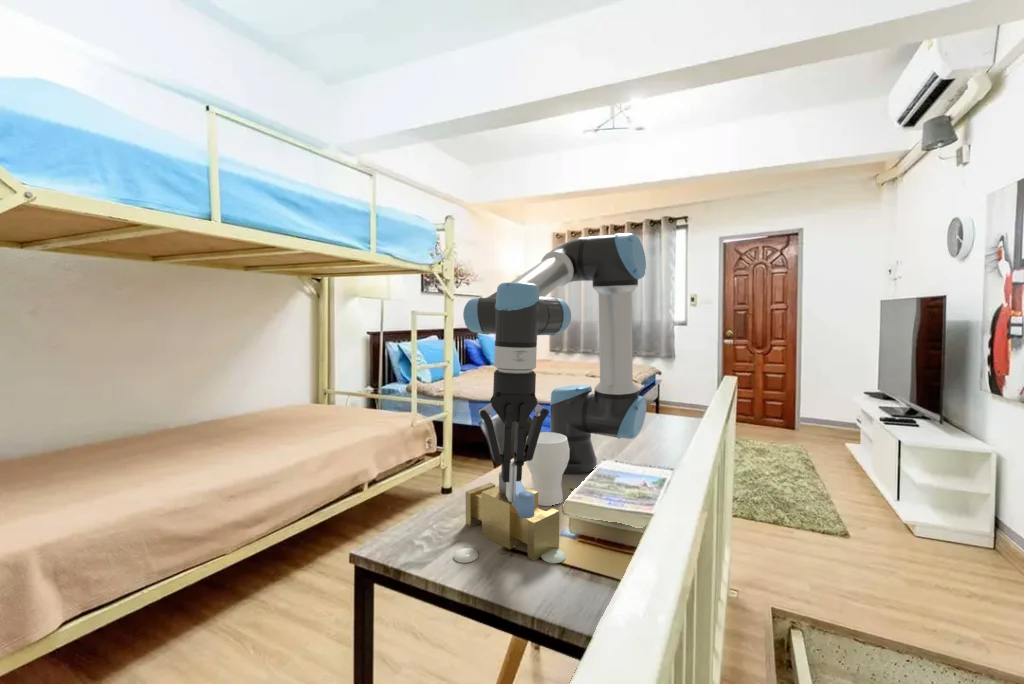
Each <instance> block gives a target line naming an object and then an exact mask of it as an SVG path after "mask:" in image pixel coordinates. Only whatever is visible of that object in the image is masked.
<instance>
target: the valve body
mask: <svg viewBox="0 0 1024 684" xmlns="http://www.w3.org/2000/svg"><path fill="white" fill-rule="evenodd" d="M524 487H525V489H526V490H527V491H528V492H532V493H534V516H533V517H532V518H521V517H519V516H518V512H517V510H516V509H515V507H514V506H513V504H512V502H509V500H508V498H507V497H506V494H503V493H501V492H500V491H499V485H496V484H495V483H492V482H487V483H486V484H482V485H480V486H478V487H475V488H471V489H468V490H466V491H465V525H467V526H469V527H473V526H475V525H478V524H480V523H481V535H482V536H484V537H486V538H488V539H489V540H491V541H493V542H495V543H496V544H499V545H500V546H502V547H504V548H506V549H507V550H512V549H514V548H515V547H514V546H516V547H518V546H520V545H522V544H523V543H524V544H526V545H527V558H528V559H530V560H532V561H534V562H535V561H536V560H538V559H539V558H541V555H542V554H544V553H546V552H548V551H549V550H551V549H558V548H559V547H560V510H558V509H556V508H550V509H548V510H546V511H545V510H543V509H540V507H539V505H538V492H537V491H535V490H532V488H529V487H526V486H524ZM519 544H520V545H519ZM517 545H518V546H517ZM513 547H514V548H513Z"/></svg>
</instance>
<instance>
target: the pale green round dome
mask: <svg viewBox="0 0 1024 684" xmlns="http://www.w3.org/2000/svg"><path fill="white" fill-rule="evenodd" d="M540 558H541V559H542V561H544V562H547V564H548V563H549V564H560V563H563V562H564V561H565V559H566V553H565V552H564V551H562V550H561V549H559V548H556V549H551V550H549V551H548V552H546V553H544V554H542V555H541V557H540Z"/></svg>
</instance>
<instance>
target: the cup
mask: <svg viewBox="0 0 1024 684" xmlns="http://www.w3.org/2000/svg"><path fill="white" fill-rule="evenodd" d="M527 437H528V435H527V436H526V440H527ZM569 450H570V449H569V445H568V440H567V437H566V436H564V435H562V434H559V433H552V432H551V431H550V432H549V431H545V432H543V431H542V432H541V431H540V434H539V438H538V441H537V445H536V448H535V452H534V455H533V459H532V460H531V461H526V462H525V463H526V466H527V468H528V470H529V473H530V475H531V480H532V487H531V489H532V490H535V491H537V492H538V506H541V507H542V506H544V507H550V506H551V507H553V506H552V505H554V506H556V505H555V504H558V505H560V504H561V503H563V501H564V496H563V489H562V480H563V475H564V474H565V473H564V471H565V469H566V467H567V464H568V461H569ZM559 503H560V504H559Z"/></svg>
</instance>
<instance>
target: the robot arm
mask: <svg viewBox="0 0 1024 684" xmlns="http://www.w3.org/2000/svg"><path fill="white" fill-rule="evenodd" d="M646 261H647V260H646V252H645V249H644V245H643V244H642V240H641V239H640V238H639V237H638V235H637V234H634V233H630V232H627V233H626V232H624V233H623V232H622V233H620V232H618V233H611V234H604V235H603V234H602V235H595V236H594V235H592V236H581V237H578V238H574V239H572V240H569V241H567V242H565V243H563V244H561V245H559V246H557V247H555V248H553V249H551V251H549V252H547V253H545V255H544V256H543V257H542V259H541V262H539V263H537V264H536V265H534V266H533V267H532V268H530V269H529V270H527V271H526V272H524V273H523V274H521V275H519V276H518V277H517V278H515V279H514V280H512V281H511V282H502V283H500V284H498V285H497V287H496V291H495V292H493V293H492V294H491V295H489V296H487V297H482V296H481V297H480V296H479V297H477V298H476V297H475V298H471V299H469V300H468V301H467V302H466V304H465V305H464V308H463V311H462V312H463V313H462V315H463V321H464V324H465V326H466V328H467V330H469V331H470V332H472V333H478V334H483V335H486V334H494V335H495V340H494V358H493V359H494V361H493V367H495V368H496V370H495V371H493V386H492V387H493V390H492V392H493V393H492V396H491V398H490V400H489V404H487V405H486V406H483V407H479V408H478V409H477V413H478V414H479V416H480V417H481V419H482V421H483V424H484V428H485V432H486V437H487V442H488V446H489V450H490V454H491V457H492V459H493V461H494V462H495V463H499V464H500V465H501V478H502V480H503V482H506V497H507V498H508V500H509V502H512V501H516V481H521V482H522V476H523V475H522V474H523V466H524V465H525V463H526V461H531V460H532V459H533V455H534V452H535V448H536V445H537V441H538V438H539V434H540V432H541V430H542V427H543V423H544V421H545V420H546V418H547V417H548V416H549V413H550V432H552V433H559V434H562V435H564V436H566V437H567V440H568V445H569V449H570V450H569V461H568V464H567V467H566V469H565V471H564V473H563V474H568V475H569V474H570V475H571V474H573V475H574V474H575V475H578V474H579V475H580V474H585V472H586V473H589V472H588V471H590V472H592V471H591V470H592V469H593V468H594V467H595V466H596V465H597V463H598V461H597V456H596V454H595V453H596V452H595V450H594V446H593V442H592V434H594V435H598V436H599V435H600V436H604V437H605V436H606V437H609V438H610V437H611V438H617V439H618V440H619V439H626V440H634V439H636V438H637V437H638V435H640V433H641V430H642V428H643V425H644V423H645V419H646V414H647V402H646V401H647V399H646V398H645V397H643V395H639V393H640V391H639V387H638V385H636V384H635V383H634V382H633V380H634V379H633V377H634V376H633V372H634V371H633V369H634V368H633V292H634V291H635V290H636V289H637V288H638V286H639V280H641V279H643V278H644V277H645V275H646V270H647V262H646ZM584 281H585V282H589V281H592V288H593V290H594V291H595V292H597V294H598V333H599V334H598V335H599V336H598V337H599V339H598V341H599V383H597V384H596V385H595V386H594V391H593V388H592V386H591V385H589V384H574V385H573V384H572V385H565V386H559V387H556V388H554V389H553V390H552V391H551V393H550V402H549V405H550V411H549V409H548V408H546V407H545V406H543V405H540V404H539V403H538V398H537V397H536V396H537V395H536V384H537V383H536V378H537V375H536V374H537V373H536V372H535V371H534V370H535V369H536V368H537V351H538V349H537V344H538V343H537V342H538V336H555V335H558V334H561V333H563V332H564V331H566V330H567V329H568V327H569V325H570V324H571V321H572V311H571V308H570V306H569V304H568V303H567V302H566V301H565V300H563V299H562V298H558V297H556V296H547V295H549V294H550V293H552V292H553V291H554V290H555V289H557V288H558V287H564V286H566V285H567V284H569V283H573V282H584ZM493 410H494V411H493ZM493 412H495V414H497V416H498V417H499V419H500V422H501V423H500V424H501V441H500V442H501V443H500V446H501V448H499V445H498V440H497V436H496V432H495V425H494V423H493V420H492V418H493V417H494V413H493ZM532 412H533V417H532V420H531V423H530V428H529V430H528V434H527V436H528V437H527V436H526V439H527V440H526V441H525V429H526V425H527V423H526V422H527V419H528V418H529V416H530V415H531V414H532ZM513 422H514V438H513V439H514V440H513V460H511V459H512V454H511V453H512V428H513ZM500 449H501V450H500Z"/></svg>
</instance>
